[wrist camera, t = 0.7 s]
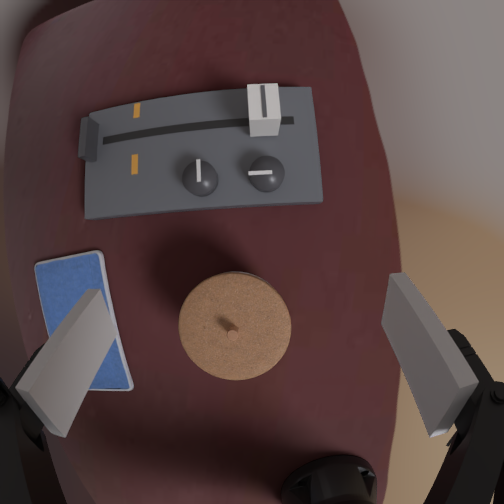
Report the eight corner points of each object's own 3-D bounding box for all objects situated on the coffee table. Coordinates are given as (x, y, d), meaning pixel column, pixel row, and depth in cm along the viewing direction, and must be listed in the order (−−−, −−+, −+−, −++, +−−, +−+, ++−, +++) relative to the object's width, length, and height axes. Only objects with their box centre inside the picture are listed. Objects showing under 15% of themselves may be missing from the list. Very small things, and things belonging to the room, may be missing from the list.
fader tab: (277, 135, 32) (281, 118, 27) (250, 136, 32) (249, 119, 27) (275, 103, 32) (277, 82, 27) (248, 104, 32) (247, 84, 27)
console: (318, 203, 35) (329, 197, 30) (94, 220, 36) (71, 217, 30) (308, 95, 35) (315, 75, 29) (97, 119, 35) (78, 105, 30)
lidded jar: (205, 255, 36) (188, 260, 26) (295, 279, 36) (308, 293, 26) (185, 339, 36) (163, 369, 27) (270, 362, 36) (273, 399, 27)
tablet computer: (136, 388, 37) (133, 392, 36) (67, 386, 37) (63, 390, 36) (105, 248, 36) (100, 248, 35) (37, 262, 37) (31, 263, 35)
